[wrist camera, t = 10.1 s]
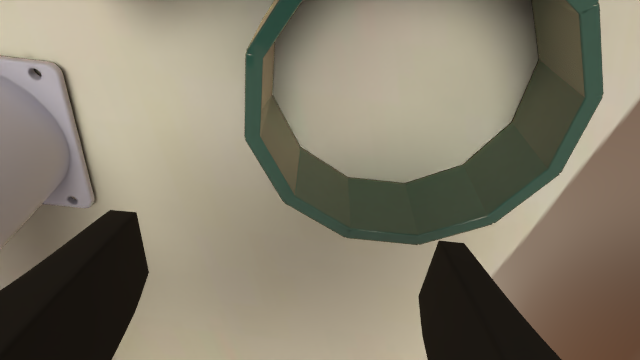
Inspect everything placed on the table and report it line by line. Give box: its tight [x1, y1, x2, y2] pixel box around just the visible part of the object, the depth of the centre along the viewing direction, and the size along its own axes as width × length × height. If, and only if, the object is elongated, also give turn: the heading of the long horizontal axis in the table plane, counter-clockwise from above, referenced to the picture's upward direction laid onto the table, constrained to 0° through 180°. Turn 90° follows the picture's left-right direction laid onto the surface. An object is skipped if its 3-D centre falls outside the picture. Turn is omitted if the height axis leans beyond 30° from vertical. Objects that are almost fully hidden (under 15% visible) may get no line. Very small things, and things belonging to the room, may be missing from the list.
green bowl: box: [245, 0, 603, 245], centre depth 17 cm, size 12×12×4 cm
